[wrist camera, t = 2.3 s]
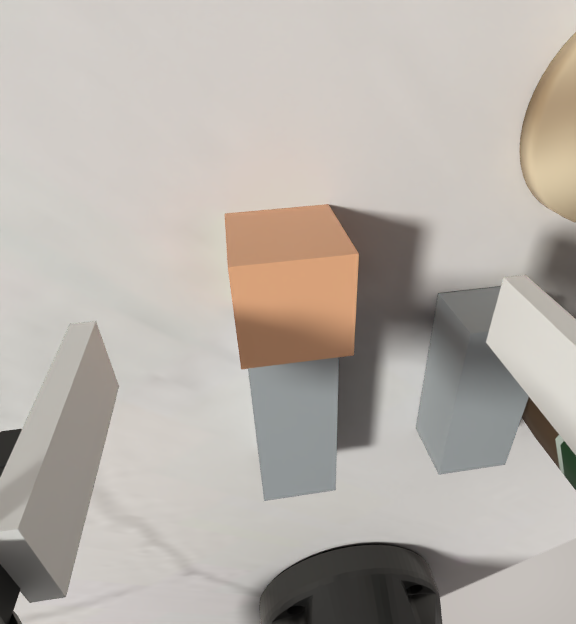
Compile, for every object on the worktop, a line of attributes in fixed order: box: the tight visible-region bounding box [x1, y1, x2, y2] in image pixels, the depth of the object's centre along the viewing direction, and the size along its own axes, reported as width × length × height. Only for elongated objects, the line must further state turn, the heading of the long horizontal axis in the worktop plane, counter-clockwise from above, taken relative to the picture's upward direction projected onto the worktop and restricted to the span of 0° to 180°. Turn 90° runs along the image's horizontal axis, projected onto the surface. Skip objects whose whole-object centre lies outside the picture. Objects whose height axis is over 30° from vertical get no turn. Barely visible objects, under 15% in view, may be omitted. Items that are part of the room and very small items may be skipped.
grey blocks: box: [248, 286, 529, 501], centre depth 24 cm, size 10×14×4 cm
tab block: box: [225, 204, 359, 369], centre depth 19 cm, size 4×4×5 cm
